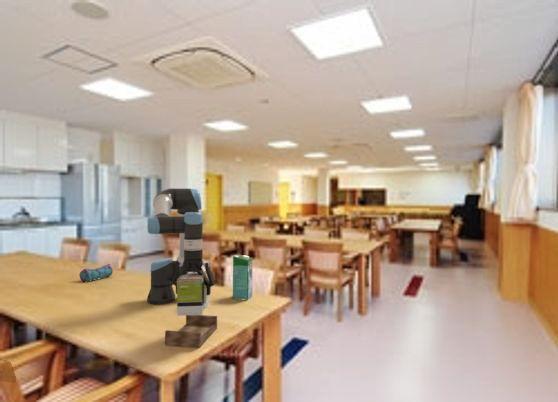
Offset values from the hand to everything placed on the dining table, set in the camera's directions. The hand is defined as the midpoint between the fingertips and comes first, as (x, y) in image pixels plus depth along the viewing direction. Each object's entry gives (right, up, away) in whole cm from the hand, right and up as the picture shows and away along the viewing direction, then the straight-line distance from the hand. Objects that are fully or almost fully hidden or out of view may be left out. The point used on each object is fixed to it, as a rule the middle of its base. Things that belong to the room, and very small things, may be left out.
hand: (193, 302), depth 138 cm
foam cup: (-5, -15, +40) cm, 43 cm away
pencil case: (-97, -15, +103) cm, 142 cm away
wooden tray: (0, -14, 0) cm, 14 cm away
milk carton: (+14, -15, +57) cm, 61 cm away
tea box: (0, -3, 0) cm, 3 cm away
